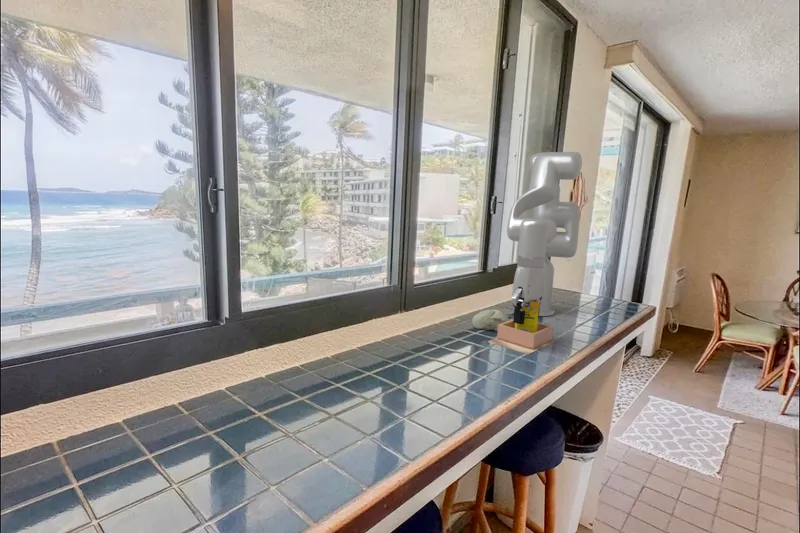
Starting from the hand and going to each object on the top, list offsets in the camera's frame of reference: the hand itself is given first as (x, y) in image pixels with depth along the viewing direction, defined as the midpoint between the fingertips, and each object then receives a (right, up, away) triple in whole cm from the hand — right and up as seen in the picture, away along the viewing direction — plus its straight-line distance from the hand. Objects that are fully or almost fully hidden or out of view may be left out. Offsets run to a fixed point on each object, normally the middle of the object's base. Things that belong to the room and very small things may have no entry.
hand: (526, 320), depth 121 cm
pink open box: (0, -6, +1) cm, 6 cm away
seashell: (-8, -6, +12) cm, 15 cm away
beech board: (-2, -7, 0) cm, 8 cm away
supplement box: (0, -5, +1) cm, 5 cm away
